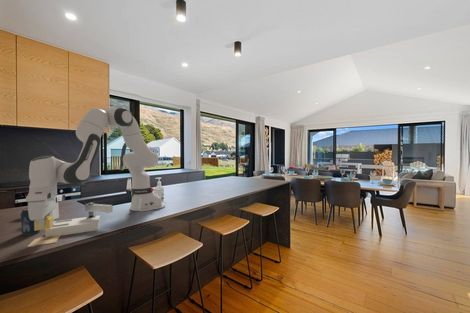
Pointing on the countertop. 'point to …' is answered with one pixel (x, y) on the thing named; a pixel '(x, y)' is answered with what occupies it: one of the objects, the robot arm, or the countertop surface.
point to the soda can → (27, 223)
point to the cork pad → (44, 241)
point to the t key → (98, 208)
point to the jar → (55, 211)
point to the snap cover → (48, 223)
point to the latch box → (73, 226)
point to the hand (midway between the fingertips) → (44, 224)
